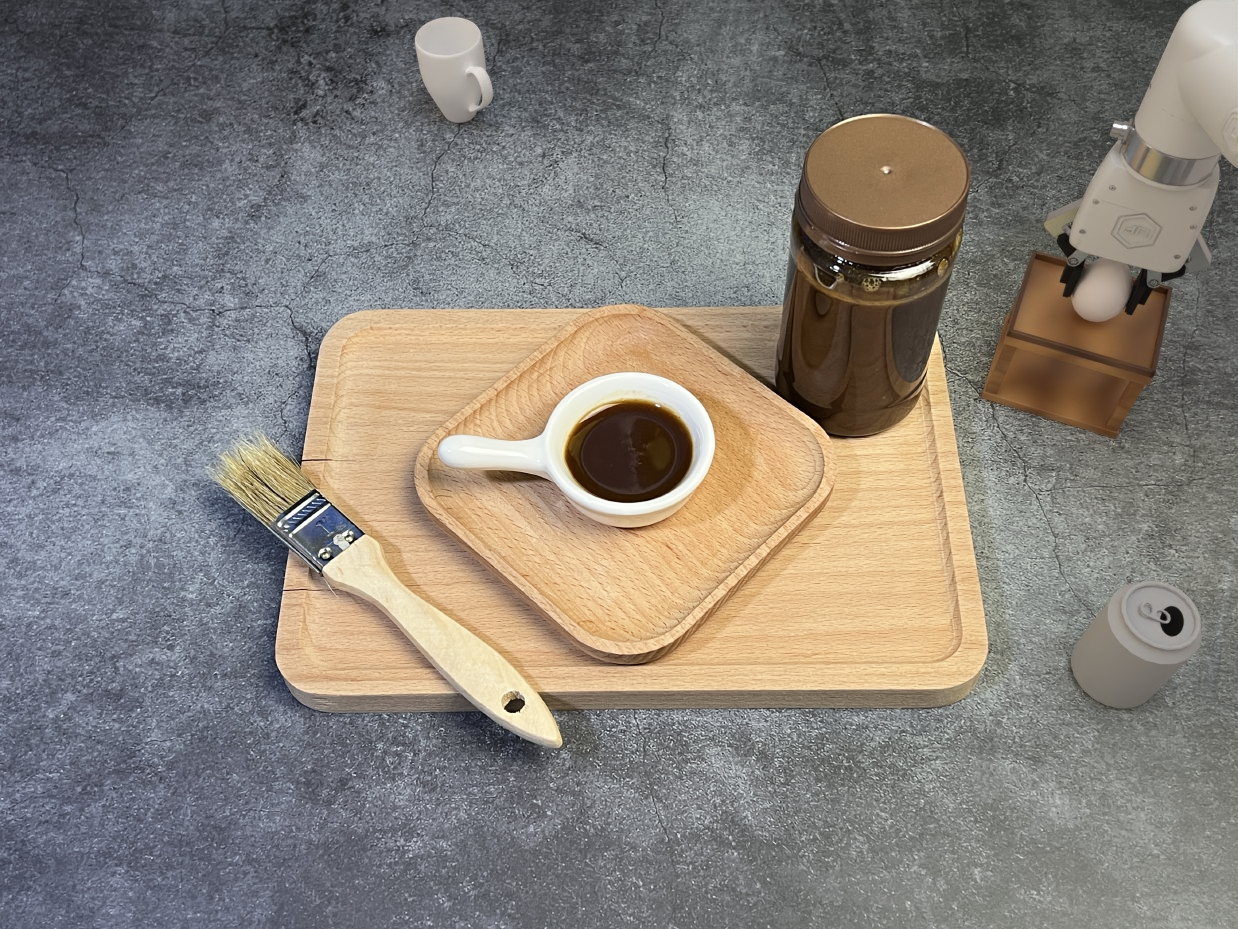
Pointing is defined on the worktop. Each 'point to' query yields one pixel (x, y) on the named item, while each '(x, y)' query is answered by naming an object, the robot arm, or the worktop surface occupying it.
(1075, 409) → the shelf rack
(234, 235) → the worktop surface
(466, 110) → the mug
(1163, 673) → the can
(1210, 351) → the worktop surface
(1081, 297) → the egg
